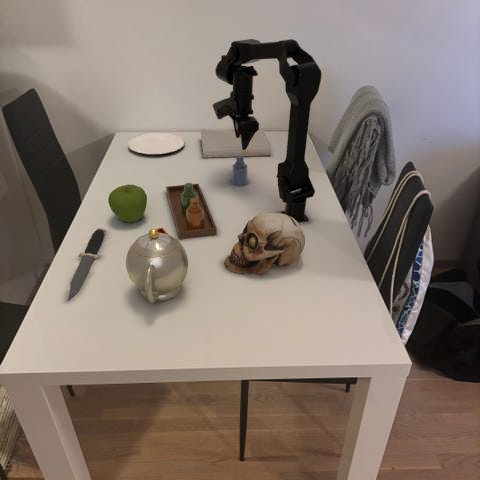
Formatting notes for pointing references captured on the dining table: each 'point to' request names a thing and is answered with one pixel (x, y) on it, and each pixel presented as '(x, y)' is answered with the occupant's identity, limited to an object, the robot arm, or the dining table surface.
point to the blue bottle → (239, 171)
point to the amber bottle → (195, 215)
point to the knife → (86, 261)
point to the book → (233, 144)
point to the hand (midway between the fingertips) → (240, 143)
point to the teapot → (157, 265)
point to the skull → (266, 244)
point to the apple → (128, 203)
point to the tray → (180, 219)
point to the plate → (156, 143)
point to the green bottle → (187, 196)
